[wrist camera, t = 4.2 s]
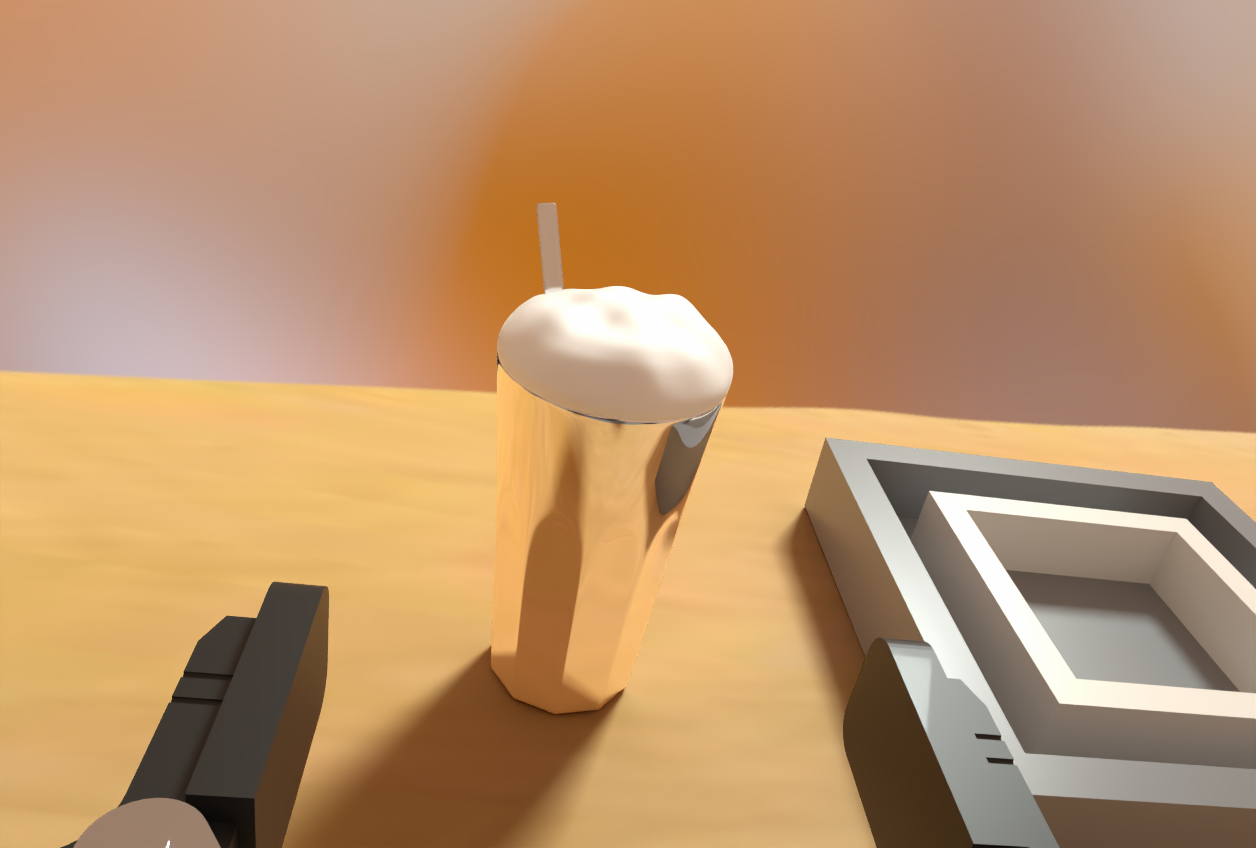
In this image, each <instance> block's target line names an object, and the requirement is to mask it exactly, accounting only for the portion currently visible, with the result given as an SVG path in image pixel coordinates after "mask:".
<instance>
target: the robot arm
mask: <svg viewBox="0 0 1256 848" xmlns="http://www.w3.org/2000/svg"><path fill="white" fill-rule="evenodd" d="M328 618H329V591H328V587H327V586H316V585H305V584H294V583H283V582H273V583H272V584H271V585H270V587H269V589H268V592H267V594H266V597H265V599H264V601H263V604H262V606H261V609H260V611H259V614H258V616H257V618H247V617H235V616H226V617H225V618H224V619H222V620H221V621H220V622H219V623H218V624H217V625H216V626H215V627H213V628H212V629H211V630H210V631H209V632H208V633H207V634H205V635H204V636H203V637H202V638H201V639H200V640H199V641H198V642H197V645H196V647H195V649H194V651H193V653H192V655H191V657H190V659H189V661H188V664H187V666H186V668H185V670H184V675H183V677H181V678H180V681H179V683H178V685H177V687H176V689H175V691H174V693H173V695H172V701H171V703H169V704H168V706H167V708H166V710H165V712H164V714H163V717H162V719H161V721H160V723H159V725H158V727H157V729H156V731H155V733H154V736H153V738H152V740H151V742H150V744H149V746H148V748H147V750H146V752H145V755H144V757H143V759H142V761H141V763H140V765H139V767H138V769H137V772H136V774H135V776H134V778H133V780H132V782H131V784H130V786H129V788H128V791H127V793H126V795H125V796H124V798H123V800H122V802H121V803H120V805H119V806H118V807H117V808H115V809H113V810H111V811H109V812H108V813H106V814H105V815H103V816H102V817H100V818H99V819H97V820H96V821H95V822H94V823H93V824H92V825H90V826H89V827H88V828H87V829H86V831H85V832H84V833H83V834H82V835H81V836H80V838H79V839H78V840H77V841H75V842H73V843H71V844H69V845H66V846H64V847H61V848H282V845H283V841H284V838H285V834H286V831H287V827H288V824H289V820H290V817H291V813H292V810H293V806H294V803H295V799H296V796H297V792H298V789H299V785H300V782H301V778H302V775H303V771H304V768H305V764H306V761H307V757H308V754H309V750H310V747H311V743H312V740H313V736H314V733H315V729H316V726H317V722H318V719H319V715H320V712H321V707H322V703H323V698H324V692H325V686H326V677H327V662H328ZM1001 736H1002V735H1001V733H1000V731H999V729H998V727H997V726H996V724H995V722H994V720H993V718H992V716H991V714H990V712H989V710H988V708H987V706H986V705H985V704H984V703H983V702H982V701H981V700H980V699H979V698H978V697H977V696H976V695H975V694H974V693H973V692H972V691H971V690H970V689H969V688H968V687H967V686H966V685H965V684H964V682H963V681H962V680H961V679H953V678H947V676H946V674H945V672H944V670H943V668H942V666H941V664H940V662H939V660H938V658H937V655H936V653H935V651H934V650H933V648H932V646H931V645H930V644H929V643H927V642H925V641H914V640H903V639H892V638H881V637H880V638H876V639H875V640H874V641H873V642H872V644H871V646H870V648H869V650H868V653H867V656H866V658H865V661H864V663H863V666H862V669H861V671H860V674H859V676H858V679H857V682H856V684H855V687H854V689H853V692H852V695H851V697H850V700H849V702H848V705H847V708H846V711H845V715H844V723H843V740H844V747H845V752H846V755H847V758H848V761H849V764H850V767H851V770H852V773H853V776H854V779H855V783H856V786H857V789H858V792H859V795H860V798H861V801H862V804H863V807H864V810H865V813H866V816H867V819H868V822H869V825H870V828H871V831H872V834H873V837H874V840H875V844H876V847H877V848H1059V846H1058V844H1057V842H1056V840H1055V838H1054V836H1053V834H1052V832H1051V830H1050V828H1049V826H1048V824H1047V822H1046V820H1045V818H1044V817H1043V815H1042V813H1041V811H1040V809H1039V807H1038V805H1037V803H1036V801H1035V799H1034V797H1033V795H1032V793H1031V791H1030V789H1029V788H1028V786H1027V784H1026V782H1025V780H1024V778H1023V776H1022V774H1021V772H1020V770H1019V768H1018V766H1017V765H1014V763H1013V761H1014V758H1013V757H1012V755H1011V753H1010V751H1009V749H1008V747H1007V745H1006V743H1005V741H1002V740H1001Z"/></svg>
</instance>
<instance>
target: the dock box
mask: <svg viewBox="0 0 1256 848" xmlns="http://www.w3.org/2000/svg"><path fill="white" fill-rule="evenodd" d="M805 508H806V510H807V513H808V515H809V518H810V520H811V523H812V525H813V528H814V530H815V533H816V535H817V538H818V540H819V543H820V545H821V548H822V550H823V553H824V555H825V558H826V560H827V563H828V565H829V568H830V570H831V573H832V575H833V578H834V580H835V583H836V585H837V588H838V590H839V593H840V595H841V598H842V600H843V603H844V605H845V608H846V610H847V613H848V615H849V618H850V620H851V623H852V625H853V628H854V630H855V633H856V635H857V638H858V640H859V643H860V645H861V648H862V650H863V653H864V655H865V658H866V656H867V653H868V650H869V648H870V646H871V644H872V642H873V641H874V640H875V639H876V638H880V637H881V638H892V639H903V640H914V641H925V642H927V643H929V644H930V645H931V646H932V648H933V650H934V651H935V653H936V655H937V658H938V660H939V662H940V664H941V666H942V668H943V670H944V672H945V674H946V676H947V678H953V679H961V680H962V681H963V682H964V684H965V685H966V686H967V687H968V688H969V689H970V690H971V691H972V692H973V693H974V694H975V695H976V696H977V697H978V698H979V699H980V700H981V701H982V702H983V703H984V704H985V705H986V706H987V708H988V710H989V712H990V714H991V716H992V718H993V720H994V722H995V724H996V726H997V727H998V729H999V731H1000V733H1001V735H1002V736H1001V740H1002V741H1005V743H1006V745H1007V747H1008V749H1009V751H1010V753H1011V755H1012V757H1013V758H1014V761H1013V763H1014V765H1017V766H1018V768H1019V770H1020V772H1021V774H1022V776H1023V778H1024V780H1025V782H1026V784H1027V786H1028V788H1029V789H1030V791H1031V793H1032V795H1033V797H1034V799H1035V801H1036V803H1037V805H1038V807H1039V809H1040V811H1041V813H1042V815H1043V817H1044V818H1045V820H1046V822H1047V824H1048V826H1049V828H1050V830H1051V832H1052V834H1053V836H1054V838H1055V840H1056V842H1057V844H1058V846H1059V848H1256V523H1255V522H1254V521H1253V520H1252V519H1251V518H1250V517H1249V516H1248V515H1247V514H1246V513H1245V512H1243V511H1242V510H1241V509H1240V508H1239V507H1238V506H1237V505H1236V504H1235V503H1234V502H1233V501H1231V500H1230V499H1229V498H1228V497H1227V496H1226V495H1225V494H1224V493H1223V492H1222V491H1221V490H1219V489H1218V488H1217V487H1216V486H1215V485H1214V484H1213V483H1212V482H1205V481H1196V480H1188V479H1179V478H1170V477H1162V476H1153V475H1144V474H1136V473H1127V472H1118V471H1110V470H1101V469H1092V468H1084V467H1075V466H1066V465H1058V464H1049V463H1041V462H1032V461H1023V460H1015V459H1006V458H997V457H989V456H980V455H971V454H963V453H954V452H945V451H937V450H928V449H919V448H911V447H902V446H893V445H885V444H876V443H867V442H859V441H850V440H841V439H833V438H825V441H824V445H823V448H822V451H821V454H820V457H819V461H818V464H817V467H816V470H815V474H814V477H813V480H812V483H811V487H810V490H809V493H808V496H807V500H806V503H805Z"/></svg>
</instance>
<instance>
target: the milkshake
mask: <svg viewBox="0 0 1256 848" xmlns="http://www.w3.org/2000/svg"><path fill="white" fill-rule="evenodd" d="M537 216H538V227H539V238H540V250H541V260H542V272H543V283H544V294H542V295H537V296H535V297H532V298H531V299H529V300H527V301H526V302H524V303H523V304H522V305H520V307H518V308H517V309H516V310H515V311H514V312H513V313H512V314H511V315H510V316H509V318H508V319H507V320H506V322H505V323H504V325H503V326H502V328H501V330H500V333H499V336H498V341H497V351H498V352H497V512H496V540H495V566H494V593H493V619H492V646H491V668H492V669H493V671H494V672H495V673H496V675H497V676H498V678H499V679H500V680H501V682H502V683H503V684H504V686H505V687H506V689H507V690H508V691H509V693H510V694H511V695H512V697H513V698H515V699H517V700H520V701H522V702H525V703H528V704H530V705H533V706H535V707H538V708H541V709H543V710H546V711H548V712H551V713H553V714H562V713H570V712H579V711H589V710H598V709H600V708H601V707H602V706H604V705H605V704H606V703H607V702H608V701H609V700H611V699H612V698H613V697H614V696H615V695H616V694H618V693H619V692H620V691H621V690H622V689H624V688H625V687H626V686H627V684H628V681H629V679H630V676H631V673H632V670H633V667H634V664H635V661H636V658H637V655H638V652H639V648H640V645H641V642H642V639H643V636H644V633H645V630H646V627H647V624H648V621H649V618H650V615H651V612H652V609H653V606H654V603H655V600H656V597H657V594H658V591H659V588H660V584H661V581H662V578H663V575H664V572H665V569H666V566H667V563H668V560H669V557H670V554H671V551H672V548H673V545H674V542H675V539H676V535H677V532H678V529H679V526H680V523H681V520H682V517H683V514H684V511H685V508H686V505H687V502H688V500H689V497H690V494H691V491H692V488H693V486H694V483H695V480H696V477H697V475H698V472H699V469H700V466H701V464H702V461H703V458H704V456H705V453H706V450H707V447H708V445H709V442H710V439H711V436H712V434H713V431H714V428H715V425H716V423H717V420H718V417H719V415H720V412H721V409H722V406H723V404H724V401H725V398H726V395H727V392H728V390H729V387H730V385H731V381H732V376H733V363H732V358H731V356H730V353H729V351H728V348H727V346H726V345H725V343H724V342H723V340H722V339H721V338H720V336H719V335H718V334H717V332H716V331H715V330H714V329H713V328H712V327H711V326H710V325H709V324H708V323H707V322H706V320H705V319H704V318H703V317H702V316H701V315H700V313H699V312H698V311H697V310H696V309H695V307H694V306H693V305H692V304H691V303H690V302H689V301H688V300H686V299H685V298H683V297H681V296H679V295H675V294H674V295H673V294H665V295H649V294H645V293H642V292H639V291H637V290H634V289H631V288H628V287H623V286H612V287H606V288H600V289H592V290H591V289H565V290H564V287H563V276H562V264H561V253H560V241H559V230H558V220H557V209H556V204H555V203H541V204H537Z"/></svg>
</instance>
